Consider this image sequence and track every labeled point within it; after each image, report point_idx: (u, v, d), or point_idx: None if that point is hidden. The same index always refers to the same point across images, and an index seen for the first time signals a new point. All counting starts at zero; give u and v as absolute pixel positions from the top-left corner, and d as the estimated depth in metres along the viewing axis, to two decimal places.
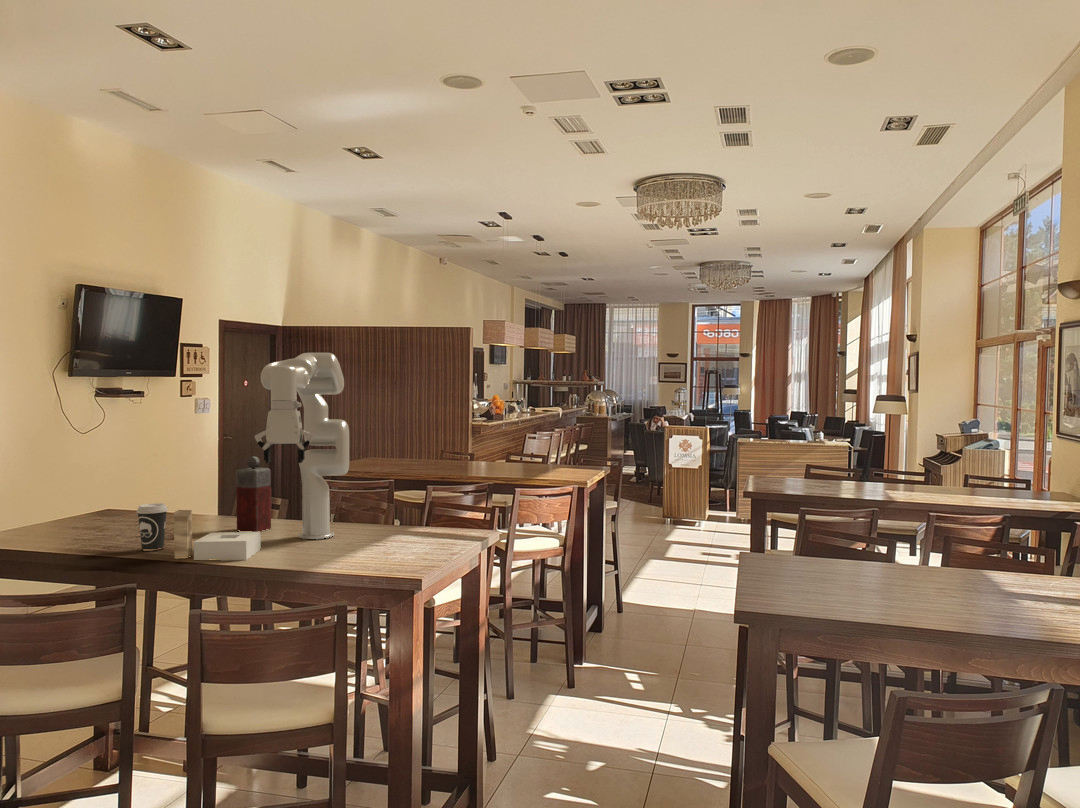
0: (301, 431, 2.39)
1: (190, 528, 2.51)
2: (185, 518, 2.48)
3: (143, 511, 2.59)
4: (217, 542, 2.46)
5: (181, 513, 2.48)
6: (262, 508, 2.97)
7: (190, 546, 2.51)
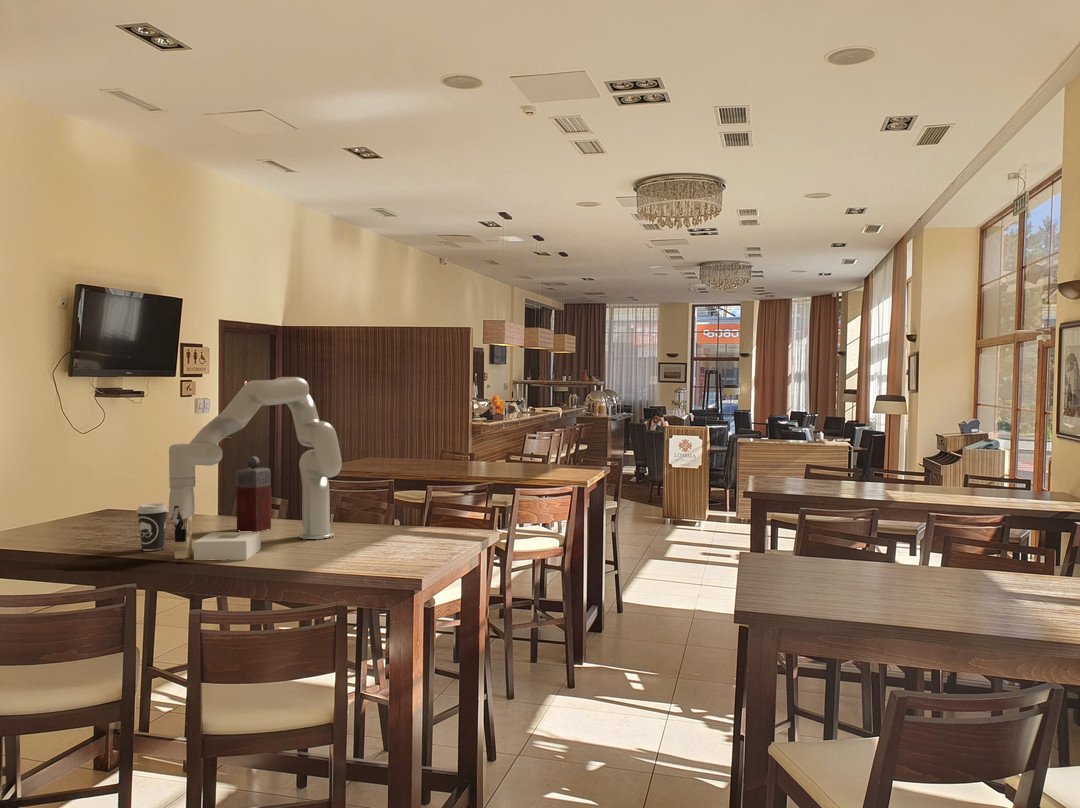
0: None
1: (190, 528, 2.51)
2: None
3: (143, 511, 2.59)
4: (217, 542, 2.46)
5: None
6: (262, 508, 2.97)
7: (190, 546, 2.51)
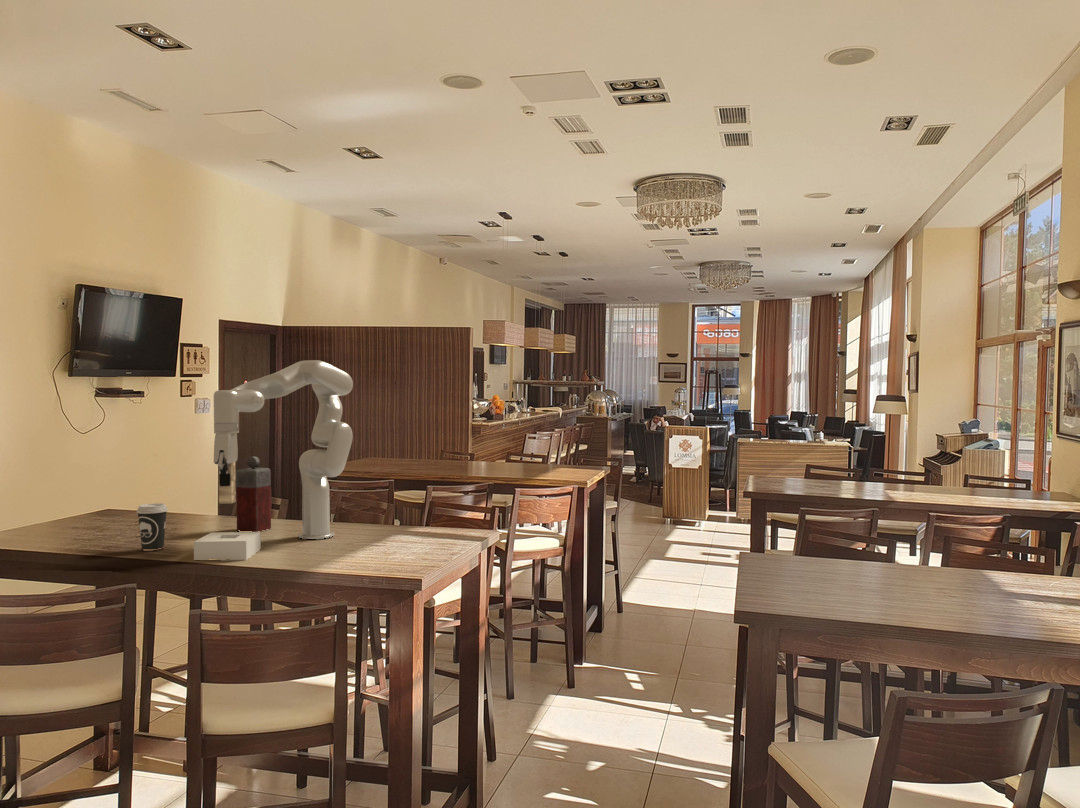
0: None
1: (234, 473, 2.55)
2: None
3: (143, 511, 2.59)
4: (217, 542, 2.46)
5: None
6: (262, 508, 2.97)
7: (234, 490, 2.55)
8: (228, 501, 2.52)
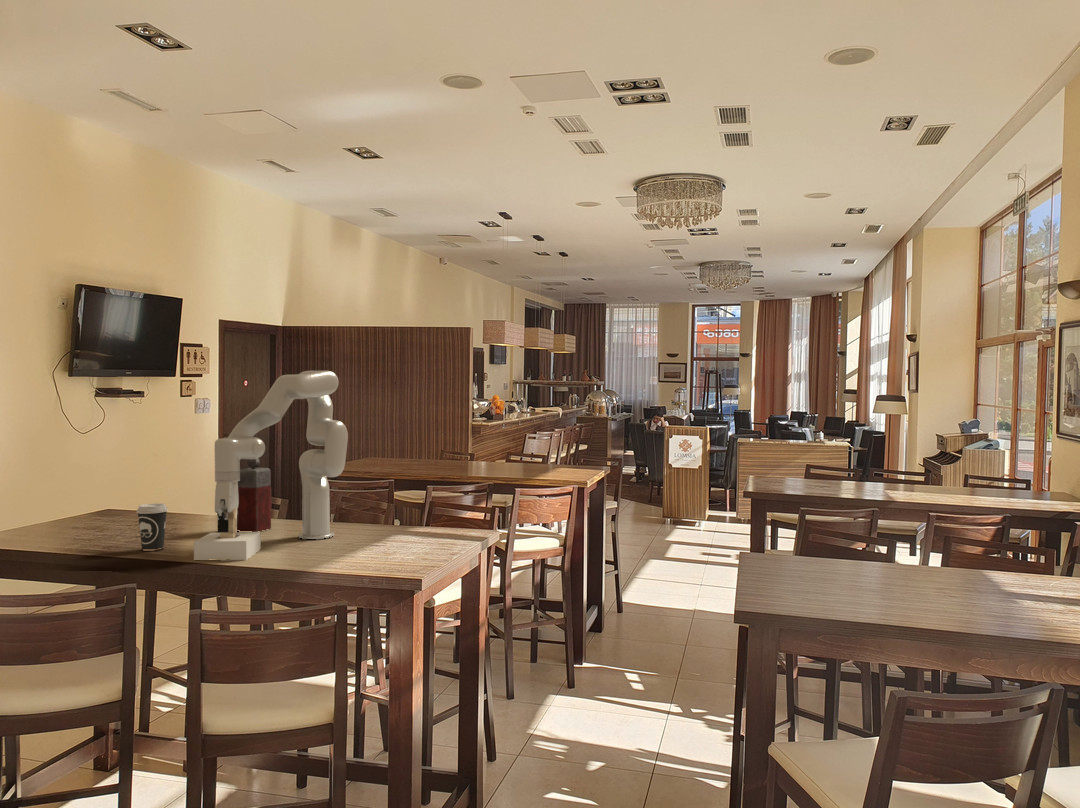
0: None
1: (235, 526, 2.56)
2: (231, 515, 2.53)
3: (143, 511, 2.59)
4: (217, 542, 2.46)
5: None
6: (262, 508, 2.97)
7: None
8: None
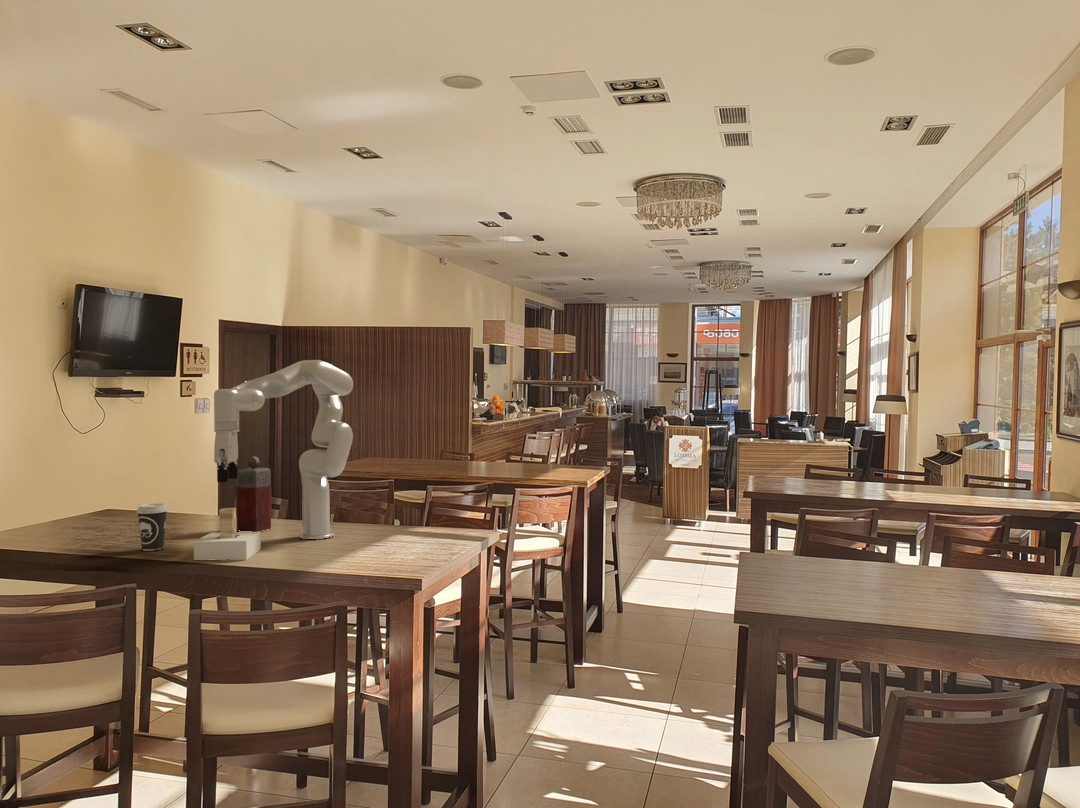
0: None
1: (235, 526, 2.56)
2: (230, 516, 2.53)
3: (143, 511, 2.59)
4: (217, 542, 2.46)
5: (226, 511, 2.52)
6: (262, 508, 2.97)
7: None
8: None
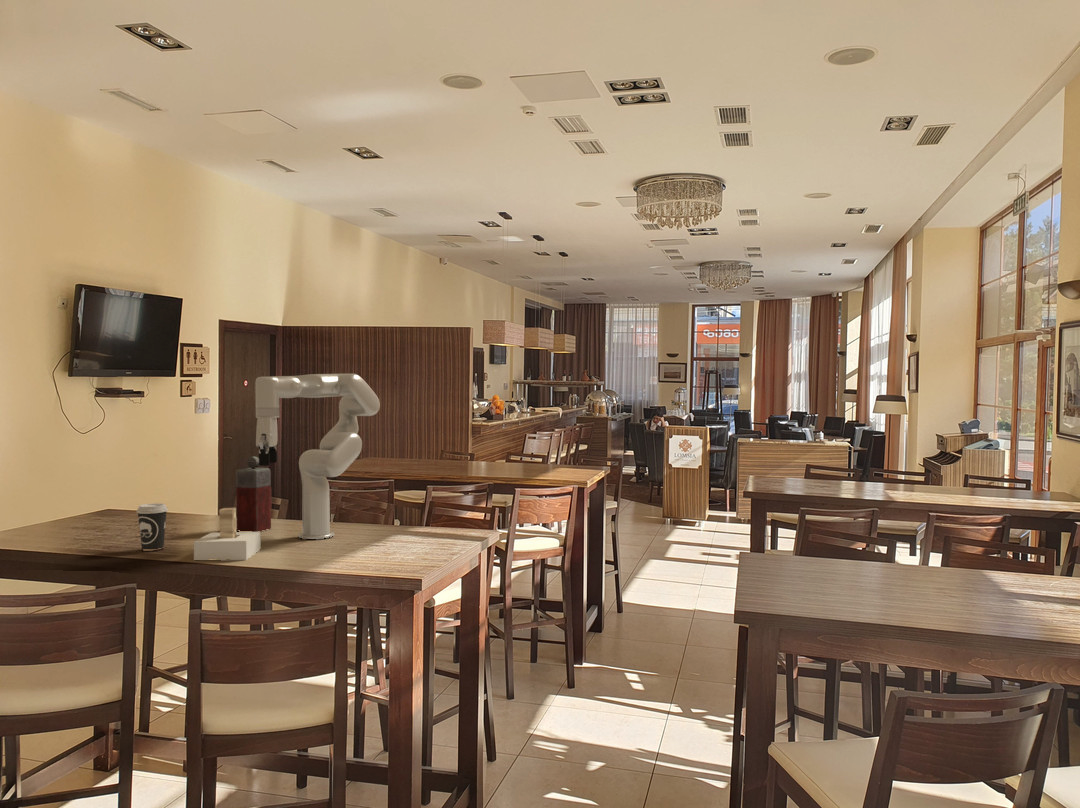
0: None
1: (235, 526, 2.56)
2: (230, 516, 2.53)
3: (143, 511, 2.59)
4: (217, 542, 2.46)
5: (226, 511, 2.52)
6: (262, 508, 2.97)
7: None
8: None
